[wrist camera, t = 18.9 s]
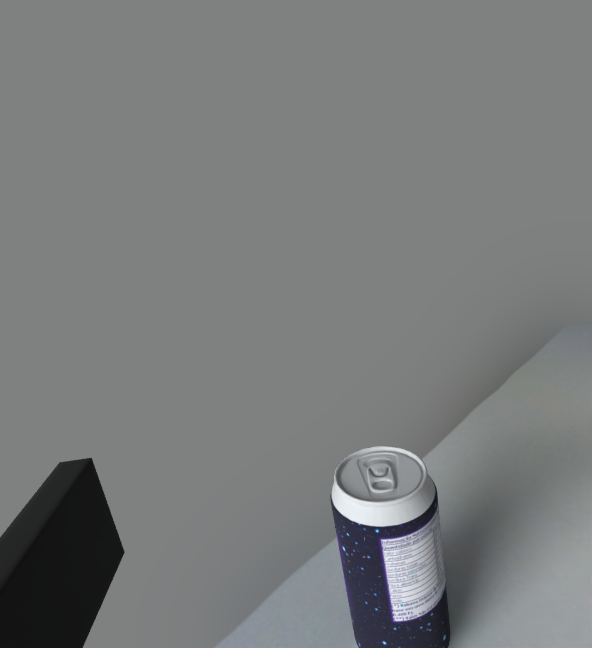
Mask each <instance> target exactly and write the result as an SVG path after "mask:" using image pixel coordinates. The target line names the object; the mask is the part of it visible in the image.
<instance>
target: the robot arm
mask: <svg viewBox="0 0 592 648" xmlns="http://www.w3.org/2000/svg"><path fill="white" fill-rule="evenodd" d="M123 555H124V549H123V547H122V544H121V541H120V538H119V535H118V532H117V529H116V526H115V524H114V521H113V518H112V515H111V512H110V509H109V507H108V504H107V501H106V498H105V495H104V492H103V489H102V486H101V484H100V481H99V478H98V475H97V472H96V469H95V467H94V464H93V461H92V458H87V459H81V460H74V461H68V462H60V463H59V464H58V465H57V467H56V468H55V469H54V470H53V472H52V473H51V474H50V475H49V477H48V478H47V479H46V480H45V482H44V483H43V484H42V486H41V487H40V488H39V489H38V490H37V492H36V493H35V494H34V496H33V497H32V498H31V499H30V501H29V502H28V503H27V504H26V506H25V507H24V508H23V509H22V511H21V512H20V513H19V515H18V516H17V517H16V518H15V520H14V521H13V522H12V523H11V525H10V526H9V527H8V528H7V530H6V531H5V532H4V534H3V535H2V536H1V537H0V648H83V646H84V643H85V641H86V639H87V636H88V634H89V632H90V629H91V627H92V625H93V623H94V621H95V618H96V616H97V614H98V611H99V609H100V607H101V605H102V602H103V600H104V598H105V595H106V593H107V591H108V589H109V586H110V584H111V582H112V580H113V577H114V575H115V573H116V571H117V568H118V566H119V563H120V561H121V559H122V557H123Z"/></svg>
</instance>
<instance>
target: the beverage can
mask: <svg viewBox="0 0 592 648" xmlns="http://www.w3.org/2000/svg"><path fill="white" fill-rule="evenodd" d="M334 480H335V483H334V485H333V488H332V491H331V505H332V510H333V516H334V522H335V528H336V533H337V539H338V545H339V550H340V556H341V561H342V567H343V573H344V578H345V584H346V590H347V595H348V601H349V607H350V612H351V618H352V623H353V629H354V635H355V639H356V642H357V645H358V647H359V648H448V646H449V642H450V623H449V613H448V602H447V591H446V581H445V570H444V560H443V549H442V539H441V528H440V518H439V507H438V497H437V489H436V486H435V484H434V482H433V480H432V479H431V477H430V476H429V475H428V473H427V468H426V466H425V464H424V462H423V461H422V460H421V459H420V458H419V457H418V456H417V455H415V454H414V453H412V452H410V451H408V450H405V449H402V448H397V447H390V446H377V447H370V448H365V449H362V450H359V451H357V452H355V453H352V454H351V455H349V456H347V457H346V458H345V459H343V460H342V462H341V463H340V464H339V465H338V467H337V469H336V471H335V476H334Z"/></svg>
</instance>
